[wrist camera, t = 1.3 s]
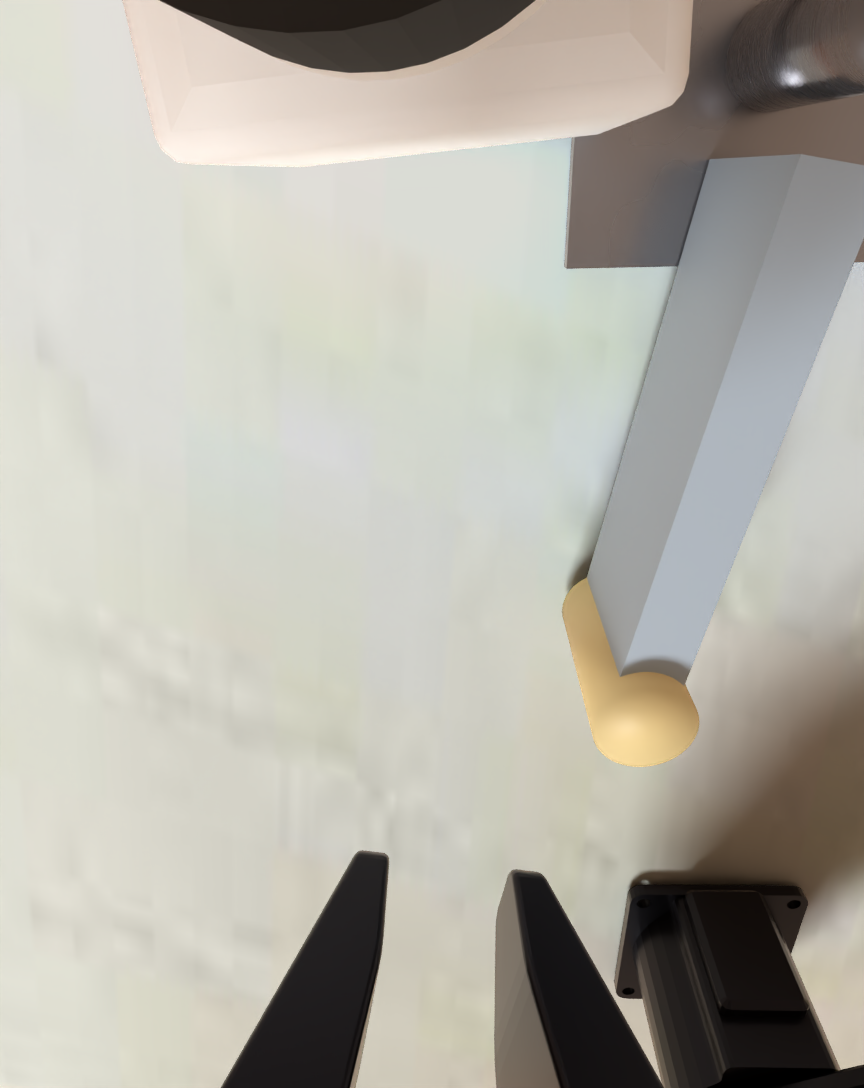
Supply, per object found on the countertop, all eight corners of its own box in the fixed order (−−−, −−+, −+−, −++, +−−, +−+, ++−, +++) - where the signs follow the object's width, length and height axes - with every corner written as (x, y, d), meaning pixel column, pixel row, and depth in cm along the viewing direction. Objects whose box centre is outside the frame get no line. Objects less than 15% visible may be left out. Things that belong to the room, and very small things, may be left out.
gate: (689, 155, 15) (786, 148, 11) (797, 174, 15) (937, 174, 11) (554, 636, 21) (580, 759, 17) (632, 647, 21) (679, 772, 17)
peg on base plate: (909, 259, 17) (1099, 294, 12) (564, 266, 17) (609, 304, 12) (1035, -215, 13) (1392, -451, 8) (591, -195, 13) (673, -413, 8)
